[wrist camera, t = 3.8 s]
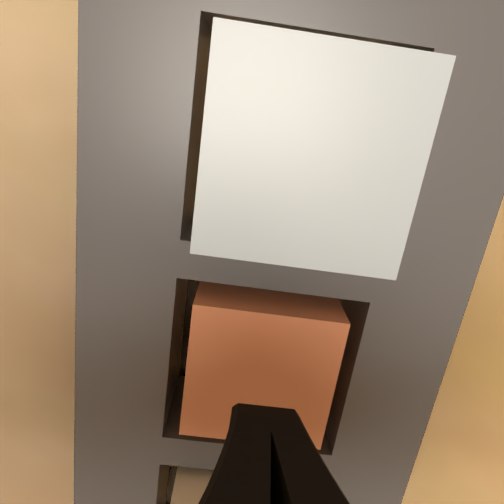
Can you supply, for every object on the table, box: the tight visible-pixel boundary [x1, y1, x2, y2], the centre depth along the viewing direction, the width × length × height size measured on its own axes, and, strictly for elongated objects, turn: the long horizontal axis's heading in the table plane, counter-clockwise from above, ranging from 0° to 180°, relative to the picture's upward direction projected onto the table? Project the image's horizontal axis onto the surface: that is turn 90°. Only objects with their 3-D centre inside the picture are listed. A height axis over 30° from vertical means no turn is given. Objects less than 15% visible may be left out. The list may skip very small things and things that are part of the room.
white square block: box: [190, 17, 456, 280], centre depth 9 cm, size 4×4×3 cm
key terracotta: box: [179, 281, 351, 450], centre depth 12 cm, size 4×4×3 cm
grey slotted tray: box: [74, 0, 504, 504], centre depth 12 cm, size 10×26×3 cm, turn 172°
